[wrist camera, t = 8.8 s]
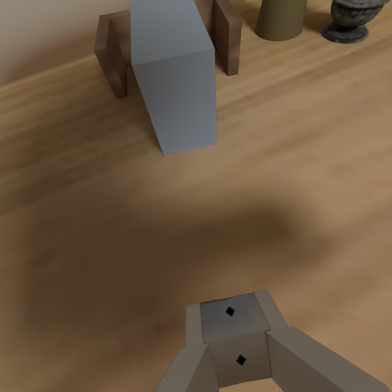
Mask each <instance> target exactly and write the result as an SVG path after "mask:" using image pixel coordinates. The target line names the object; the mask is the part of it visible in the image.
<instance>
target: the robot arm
mask: <svg viewBox="0 0 392 392" xmlns="http://www.w3.org/2000/svg"><path fill="white" fill-rule="evenodd" d="M268 378H272V379H273V380H274V381H275V383H276V384H277V385H278V386H279V387H280V388H281V389H282V390H283V391H284V392H391V391H390V390H389V389H388V387H387V386H386V385H385V384H384V383H382V382H380V381H379V380H377V379H376V378H374V377H373V376H371V375H369V374H368V373H366V372H365V371H363V370H362V369H360V368H358V367H357V366H355V365H354V364H352V363H351V362H349V361H347V360H346V359H344V358H343V357H341V356H340V355H338V354H336V353H335V352H333V351H332V350H330V349H328V348H327V347H325V346H324V345H322V344H321V343H319V342H317V341H316V340H314V339H313V338H311V337H310V336H308V335H306V334H305V333H303V332H302V331H300V330H299V329H297V328H295V327H294V326H291V327H288V325H287V323H286V321H285V320H284V318H283V316H282V314H281V313H280V311H279V309H278V307H277V305H276V304H275V302H274V300H273V298H272V297H271V295H270V293H269V291H268V290H266V289H265V290H261V291H256V292H253V293H248V294H243V295H238V296H234V297H229V298H224V299H218V300H212V301H206V302H201V303H197V304H191V305H187V306H186V347H185V348H181V349H180V351H179V353H178V354H177V356H176V358H175V359H174V361H173V363H172V364H171V366H170V368H169V369H168V371H167V373H166V374H165V376H164V378H163V379H162V381H161V383H160V384H159V386H158V388H157V389H156V391H155V392H219V388H222V387H227V386H231V385H235V384H239V383H244V382H249V381H255V380H262V379H268Z"/></svg>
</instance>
